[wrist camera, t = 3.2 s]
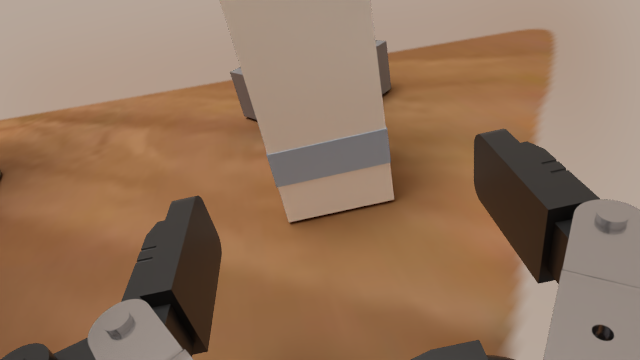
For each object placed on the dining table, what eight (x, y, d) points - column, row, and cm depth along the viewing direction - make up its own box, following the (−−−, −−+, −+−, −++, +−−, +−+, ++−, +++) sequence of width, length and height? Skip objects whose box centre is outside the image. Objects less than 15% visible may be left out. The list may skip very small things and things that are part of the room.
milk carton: (395, 199, 23) (367, -38, 17) (288, 223, 23) (217, -3, 17) (373, 146, 28) (344, -53, 22) (284, 165, 28) (229, -26, 22)
